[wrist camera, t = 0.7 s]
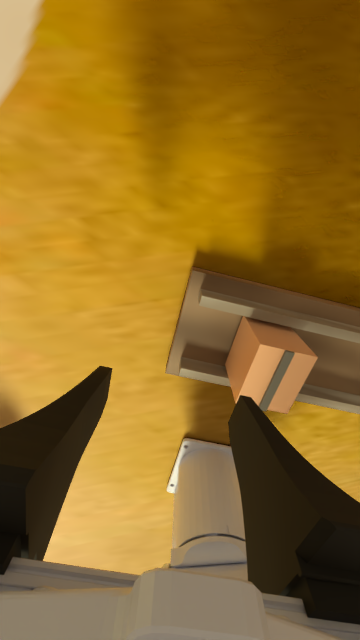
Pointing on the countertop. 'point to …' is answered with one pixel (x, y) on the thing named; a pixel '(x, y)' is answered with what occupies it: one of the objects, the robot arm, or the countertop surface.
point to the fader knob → (268, 364)
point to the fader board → (276, 307)
